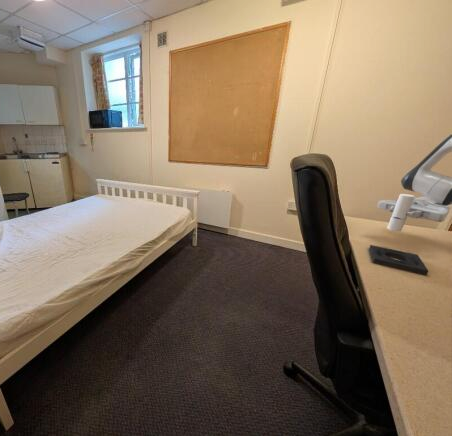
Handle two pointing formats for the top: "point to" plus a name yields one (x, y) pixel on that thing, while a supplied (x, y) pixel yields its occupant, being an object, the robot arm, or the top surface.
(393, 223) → the tube
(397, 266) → the base pad
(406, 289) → the top surface
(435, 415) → the top surface
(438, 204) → the robot arm
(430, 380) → the top surface
